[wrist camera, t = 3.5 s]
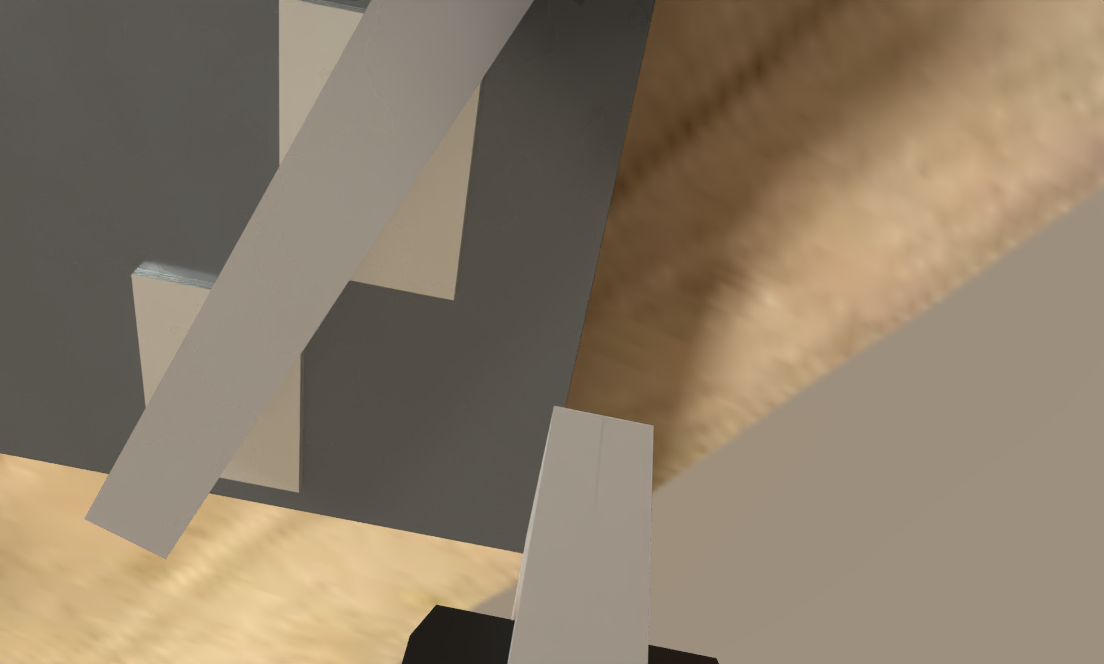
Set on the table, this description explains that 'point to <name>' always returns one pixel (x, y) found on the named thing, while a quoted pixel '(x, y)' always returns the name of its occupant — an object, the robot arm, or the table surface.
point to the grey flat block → (370, 295)
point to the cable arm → (301, 250)
